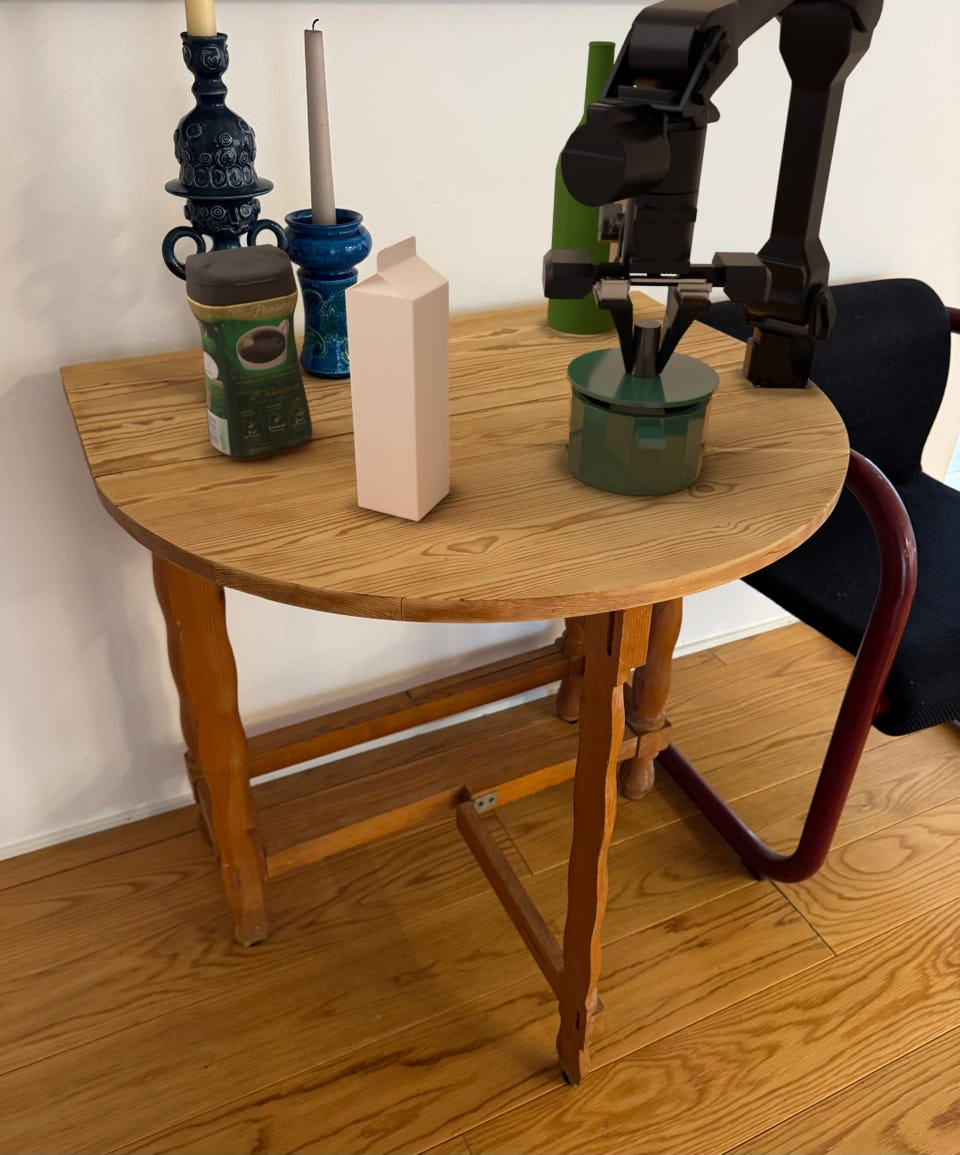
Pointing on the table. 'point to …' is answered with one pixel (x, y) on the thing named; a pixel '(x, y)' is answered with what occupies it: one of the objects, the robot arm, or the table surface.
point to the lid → (643, 374)
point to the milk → (400, 383)
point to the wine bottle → (582, 219)
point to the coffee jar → (249, 350)
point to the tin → (635, 446)
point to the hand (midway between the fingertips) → (642, 372)
